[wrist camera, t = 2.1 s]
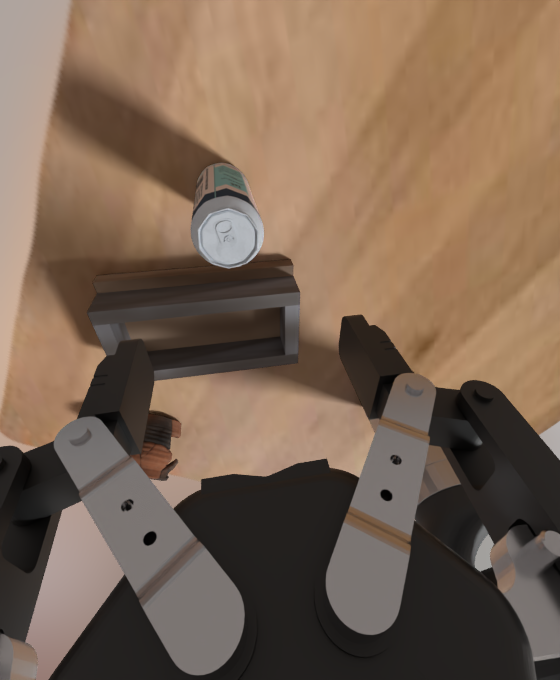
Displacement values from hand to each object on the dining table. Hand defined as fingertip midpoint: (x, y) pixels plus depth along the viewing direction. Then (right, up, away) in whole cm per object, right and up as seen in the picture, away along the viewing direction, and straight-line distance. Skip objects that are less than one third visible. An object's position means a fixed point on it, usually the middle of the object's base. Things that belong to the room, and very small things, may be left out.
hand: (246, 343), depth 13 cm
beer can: (-4, +14, +17) cm, 22 cm away
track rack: (-7, +3, +25) cm, 26 cm away
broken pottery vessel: (-18, -11, +35) cm, 41 cm away
